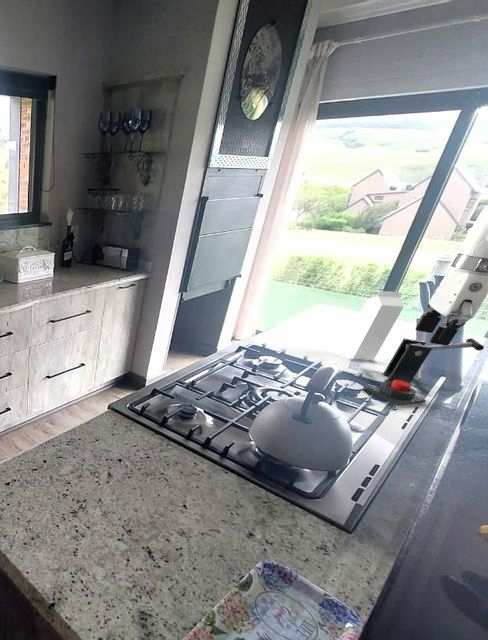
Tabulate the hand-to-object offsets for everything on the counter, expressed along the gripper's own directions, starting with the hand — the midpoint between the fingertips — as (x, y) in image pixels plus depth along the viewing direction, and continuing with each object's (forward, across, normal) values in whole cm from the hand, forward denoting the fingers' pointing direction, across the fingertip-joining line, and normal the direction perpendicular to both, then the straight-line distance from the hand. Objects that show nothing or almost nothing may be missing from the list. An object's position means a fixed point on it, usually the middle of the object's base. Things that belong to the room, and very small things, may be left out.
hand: (430, 337), depth 97 cm
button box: (+18, 0, 0) cm, 18 cm away
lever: (+6, +12, -9) cm, 16 cm away
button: (+14, 0, 0) cm, 14 cm away
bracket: (+18, +12, -3) cm, 22 cm away
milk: (+18, +26, +2) cm, 32 cm away
